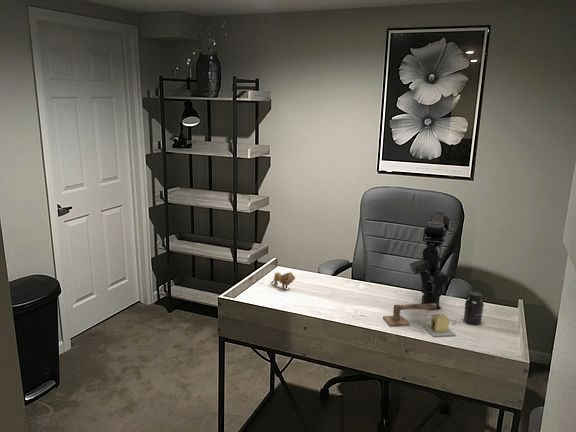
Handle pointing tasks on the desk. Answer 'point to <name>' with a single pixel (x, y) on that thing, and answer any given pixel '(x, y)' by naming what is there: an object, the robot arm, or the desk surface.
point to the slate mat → (445, 334)
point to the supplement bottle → (473, 309)
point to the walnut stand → (399, 319)
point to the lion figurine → (283, 279)
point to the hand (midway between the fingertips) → (429, 291)
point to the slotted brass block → (439, 323)
